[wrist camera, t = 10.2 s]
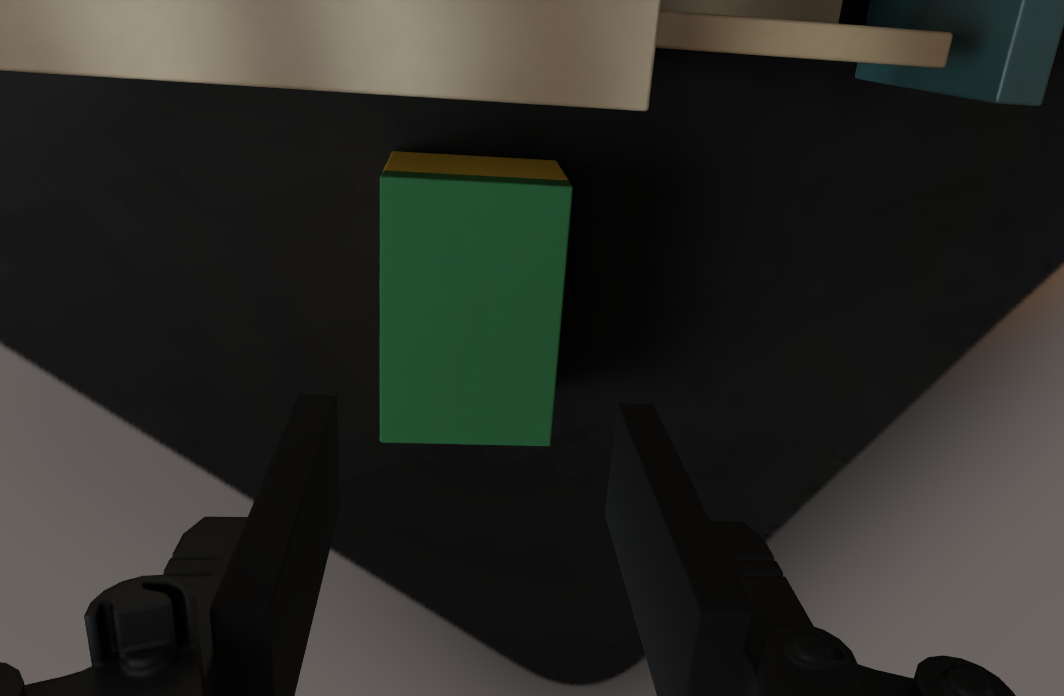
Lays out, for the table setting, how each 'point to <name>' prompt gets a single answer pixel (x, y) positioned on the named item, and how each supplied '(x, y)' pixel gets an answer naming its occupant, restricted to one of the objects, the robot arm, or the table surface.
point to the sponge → (471, 297)
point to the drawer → (888, 40)
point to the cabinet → (352, 46)
